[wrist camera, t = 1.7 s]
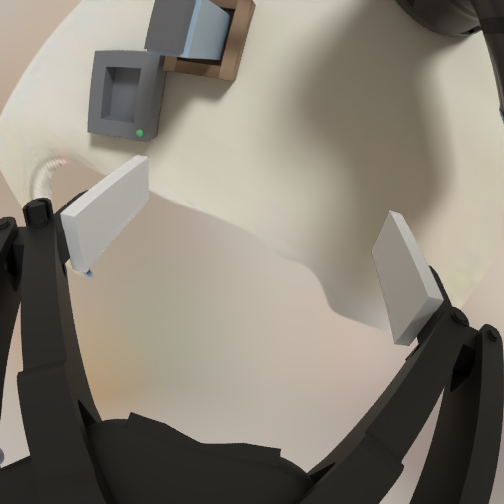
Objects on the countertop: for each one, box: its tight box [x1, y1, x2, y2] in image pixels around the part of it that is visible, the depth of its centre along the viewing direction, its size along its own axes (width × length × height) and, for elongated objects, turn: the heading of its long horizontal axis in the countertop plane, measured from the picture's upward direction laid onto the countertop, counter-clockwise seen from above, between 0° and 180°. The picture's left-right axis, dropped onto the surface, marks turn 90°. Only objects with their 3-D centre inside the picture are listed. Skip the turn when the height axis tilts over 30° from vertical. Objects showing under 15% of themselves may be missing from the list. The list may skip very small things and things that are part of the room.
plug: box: [144, 0, 232, 60], centre depth 23 cm, size 6×4×14 cm, turn 167°
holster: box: [163, 0, 256, 81], centre depth 28 cm, size 10×8×3 cm
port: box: [88, 50, 167, 142], centre depth 33 cm, size 12×10×3 cm
